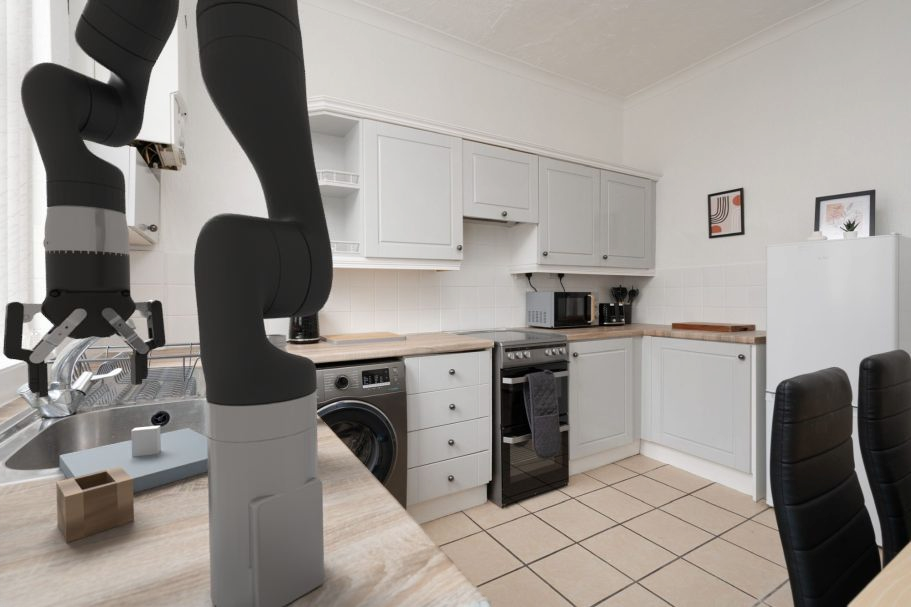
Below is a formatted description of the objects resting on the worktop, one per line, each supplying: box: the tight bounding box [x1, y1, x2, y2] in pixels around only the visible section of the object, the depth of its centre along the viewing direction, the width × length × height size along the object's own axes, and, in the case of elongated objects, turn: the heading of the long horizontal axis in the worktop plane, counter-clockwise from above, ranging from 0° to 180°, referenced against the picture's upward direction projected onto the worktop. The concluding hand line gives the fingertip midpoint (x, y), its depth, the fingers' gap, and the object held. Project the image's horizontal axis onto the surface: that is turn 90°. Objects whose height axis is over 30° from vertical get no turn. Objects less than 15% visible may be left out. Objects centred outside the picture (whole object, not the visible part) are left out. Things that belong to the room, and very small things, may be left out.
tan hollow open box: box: [55, 466, 135, 544], centre depth 51 cm, size 6×6×5 cm
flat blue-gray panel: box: [59, 425, 208, 494], centre depth 68 cm, size 20×18×6 cm
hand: (92, 389), depth 51 cm, fingers open, 8 cm apart
